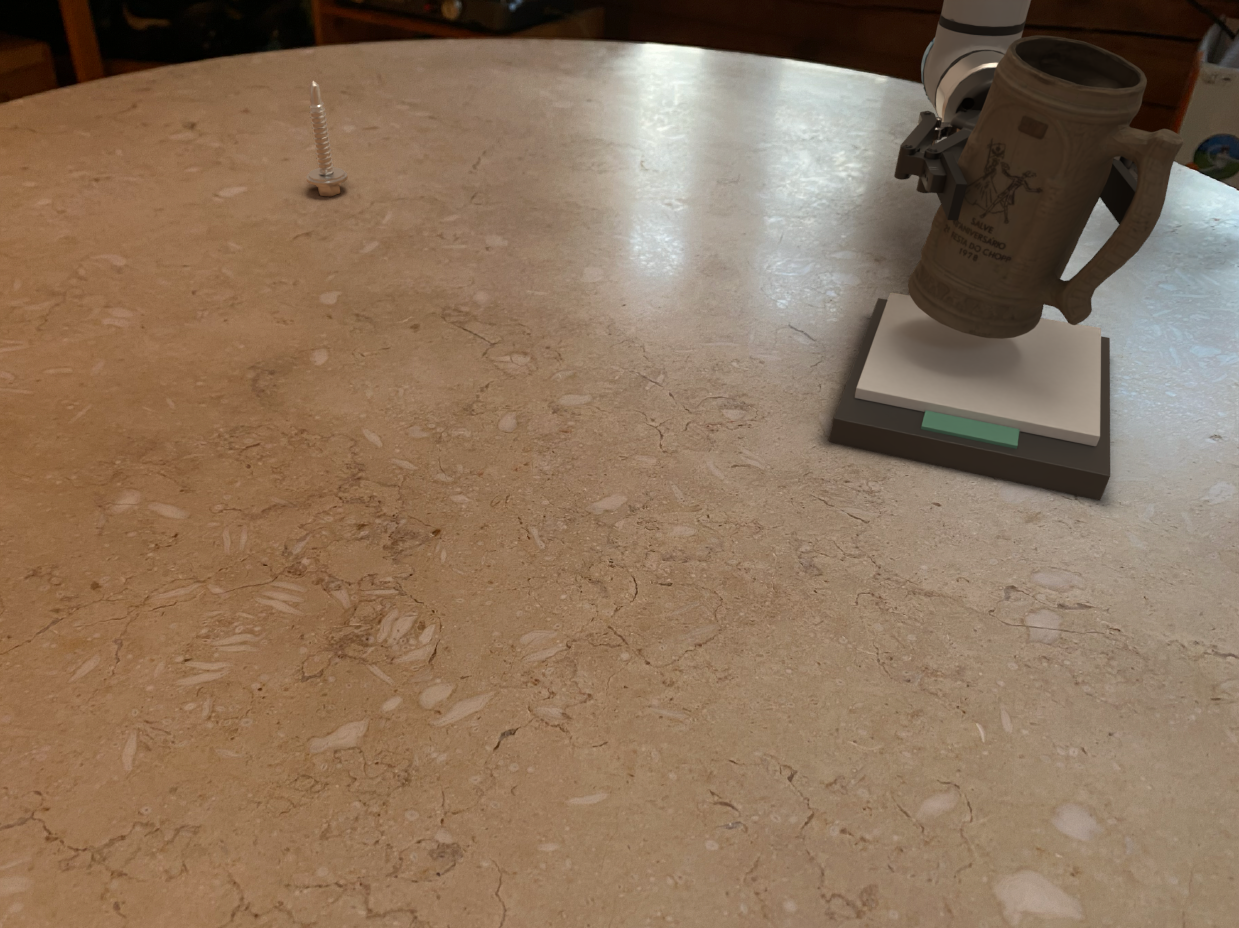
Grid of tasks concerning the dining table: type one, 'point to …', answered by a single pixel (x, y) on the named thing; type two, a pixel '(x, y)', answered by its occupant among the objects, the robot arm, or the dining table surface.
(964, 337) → the scale
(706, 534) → the dining table surface
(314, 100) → the screw
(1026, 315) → the beer stein
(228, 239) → the dining table surface
